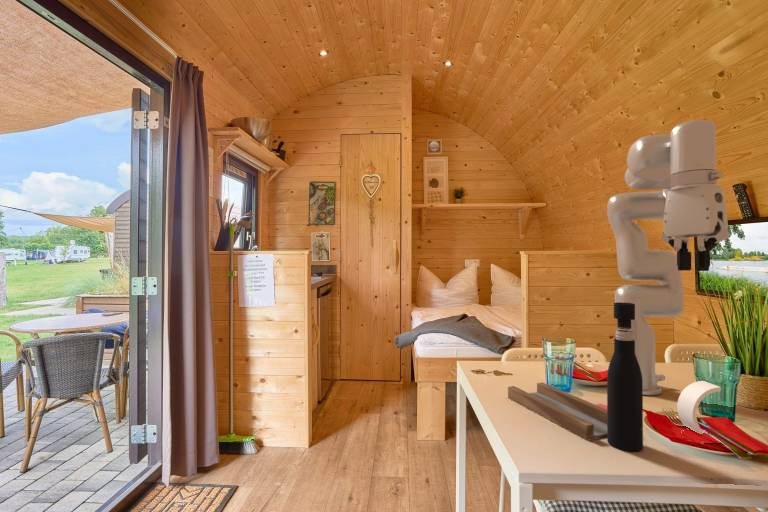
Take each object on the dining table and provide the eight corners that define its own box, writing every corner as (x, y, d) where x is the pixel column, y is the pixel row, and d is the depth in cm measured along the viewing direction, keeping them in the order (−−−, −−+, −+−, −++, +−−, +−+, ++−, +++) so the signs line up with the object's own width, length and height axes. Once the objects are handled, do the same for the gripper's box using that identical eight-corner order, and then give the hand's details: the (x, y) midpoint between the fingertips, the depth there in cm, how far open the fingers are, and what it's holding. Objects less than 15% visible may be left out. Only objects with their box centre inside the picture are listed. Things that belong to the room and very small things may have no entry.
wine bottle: (648, 453, 80) (647, 305, 80) (613, 450, 81) (613, 304, 81) (635, 439, 86) (634, 302, 86) (603, 436, 87) (602, 301, 88)
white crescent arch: (721, 443, 84) (721, 387, 84) (692, 443, 84) (692, 387, 84) (704, 434, 89) (703, 380, 89) (677, 433, 89) (676, 380, 89)
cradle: (542, 393, 115) (542, 382, 115) (627, 432, 89) (627, 418, 89) (508, 398, 112) (508, 386, 112) (586, 440, 86) (586, 425, 86)
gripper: (751, 175, 76) (751, 271, 75) (666, 190, 91) (666, 269, 91) (725, 173, 73) (725, 272, 73) (642, 188, 89) (643, 269, 88)
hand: (693, 269), depth 82 cm, fingers closed
